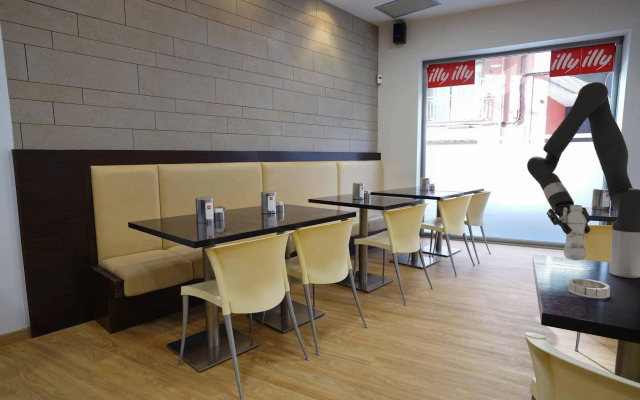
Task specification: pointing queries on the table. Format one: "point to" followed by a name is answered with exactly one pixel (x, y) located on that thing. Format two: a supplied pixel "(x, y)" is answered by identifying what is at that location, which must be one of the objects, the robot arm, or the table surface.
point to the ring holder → (589, 288)
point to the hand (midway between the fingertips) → (578, 232)
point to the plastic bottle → (575, 234)
